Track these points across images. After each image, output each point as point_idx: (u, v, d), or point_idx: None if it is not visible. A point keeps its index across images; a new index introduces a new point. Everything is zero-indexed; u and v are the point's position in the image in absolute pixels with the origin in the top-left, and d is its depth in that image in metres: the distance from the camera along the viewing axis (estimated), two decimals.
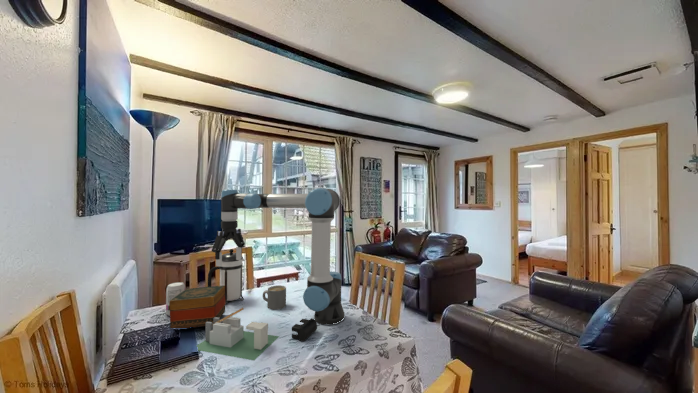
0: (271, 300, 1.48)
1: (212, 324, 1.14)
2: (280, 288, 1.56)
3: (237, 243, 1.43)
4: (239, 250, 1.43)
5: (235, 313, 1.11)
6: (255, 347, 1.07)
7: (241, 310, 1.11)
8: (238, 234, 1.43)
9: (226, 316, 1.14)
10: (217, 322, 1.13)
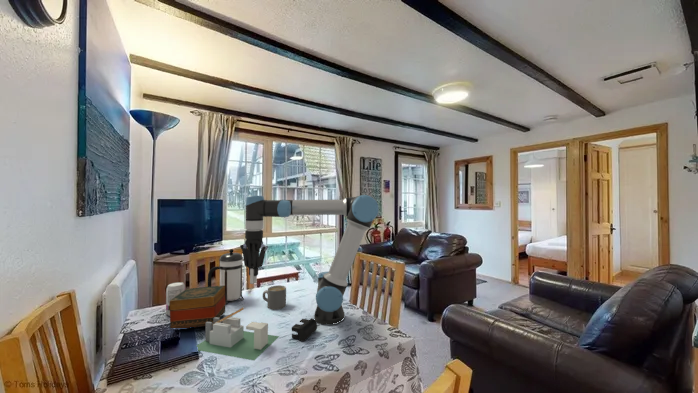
0: (271, 300, 1.48)
1: (212, 324, 1.14)
2: (280, 288, 1.56)
3: None
4: None
5: (235, 313, 1.11)
6: (255, 347, 1.07)
7: (241, 310, 1.11)
8: None
9: (226, 316, 1.14)
10: (217, 322, 1.13)
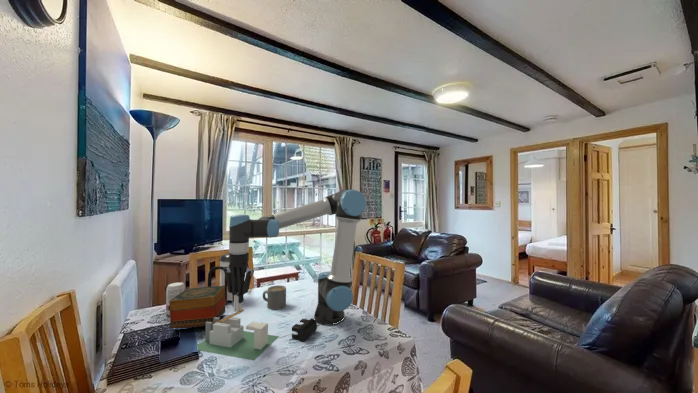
0: (271, 300, 1.48)
1: (212, 324, 1.14)
2: (280, 288, 1.56)
3: None
4: None
5: (235, 314, 1.11)
6: (255, 347, 1.07)
7: (242, 311, 1.11)
8: None
9: (226, 317, 1.13)
10: (217, 322, 1.13)
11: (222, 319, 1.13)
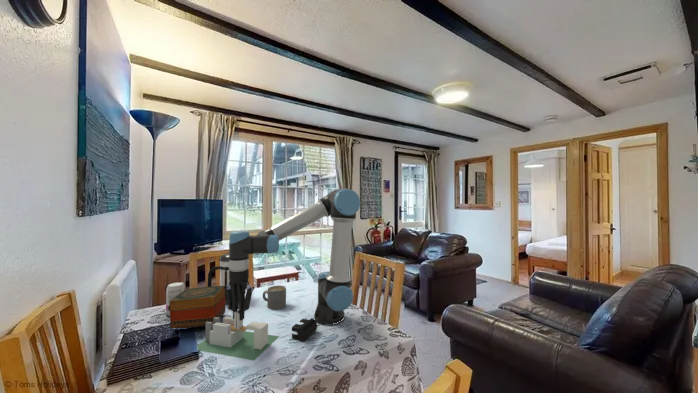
0: (271, 300, 1.48)
1: None
2: (280, 288, 1.56)
3: None
4: None
5: (239, 330, 1.11)
6: (255, 347, 1.07)
7: None
8: None
9: None
10: None
11: None
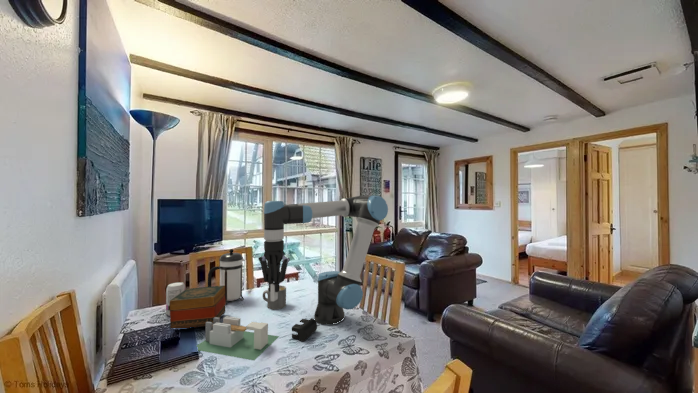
0: None
1: None
2: (280, 288, 1.56)
3: None
4: None
5: (239, 330, 1.11)
6: (255, 347, 1.07)
7: None
8: None
9: None
10: None
11: None
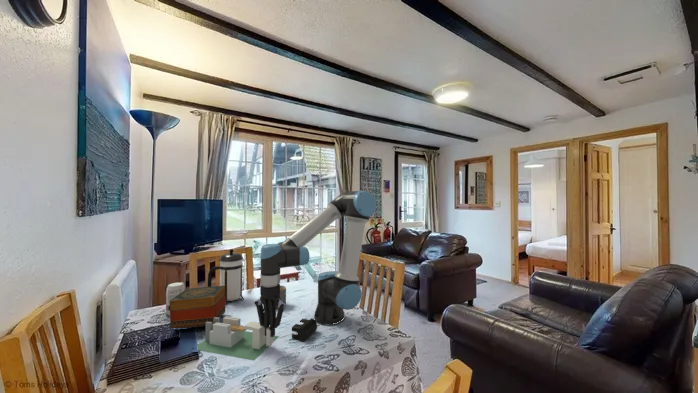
0: None
1: None
2: (280, 288, 1.56)
3: None
4: None
5: (239, 330, 1.11)
6: (253, 347, 1.07)
7: None
8: None
9: None
10: None
11: None
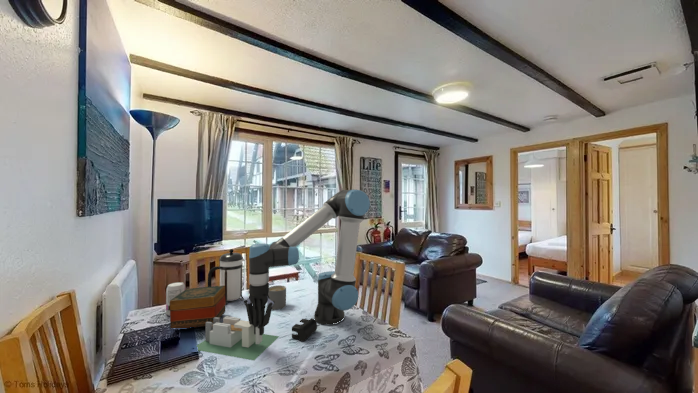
0: (271, 300, 1.48)
1: None
2: (280, 288, 1.56)
3: None
4: None
5: (239, 330, 1.11)
6: (243, 345, 1.09)
7: None
8: None
9: None
10: None
11: None
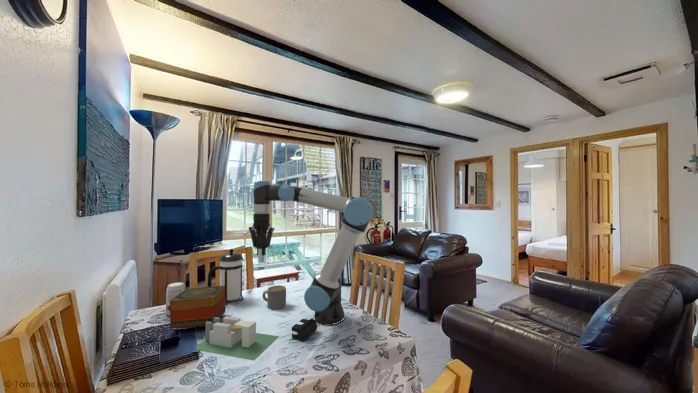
0: (271, 300, 1.48)
1: None
2: (280, 288, 1.56)
3: None
4: None
5: (239, 330, 1.11)
6: (243, 345, 1.09)
7: None
8: None
9: None
10: None
11: None
